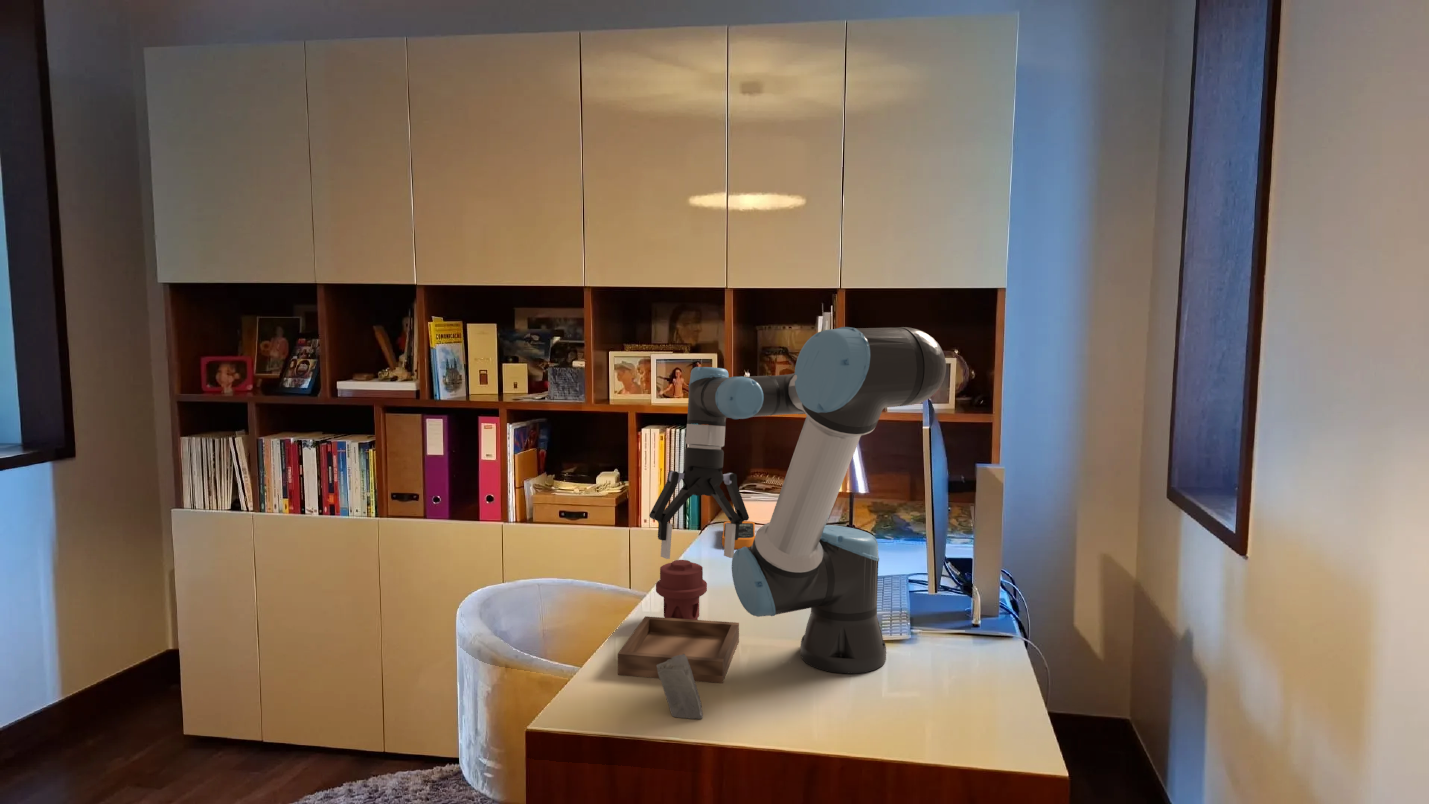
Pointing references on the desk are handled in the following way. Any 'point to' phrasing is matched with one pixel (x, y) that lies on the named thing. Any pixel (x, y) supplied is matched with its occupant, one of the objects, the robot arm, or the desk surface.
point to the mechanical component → (681, 589)
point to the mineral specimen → (680, 688)
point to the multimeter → (742, 534)
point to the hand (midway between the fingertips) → (697, 557)
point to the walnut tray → (680, 647)
